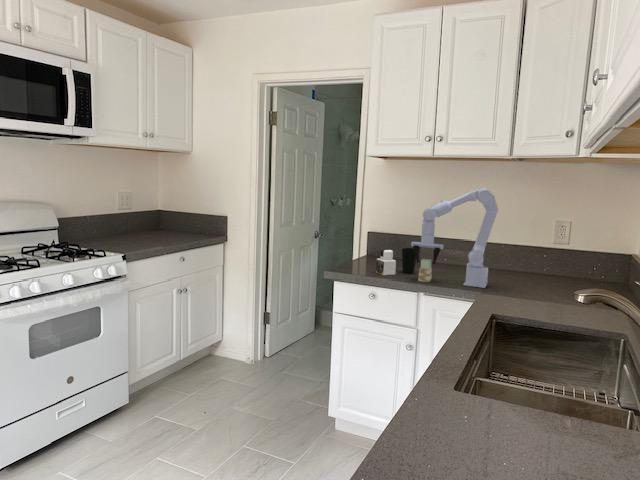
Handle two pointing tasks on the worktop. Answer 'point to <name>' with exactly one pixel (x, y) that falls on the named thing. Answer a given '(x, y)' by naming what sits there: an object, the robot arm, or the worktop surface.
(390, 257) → the medicine bottle
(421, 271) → the upper slab
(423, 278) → the lower slab
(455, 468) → the worktop surface
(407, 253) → the cup
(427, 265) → the green cube
